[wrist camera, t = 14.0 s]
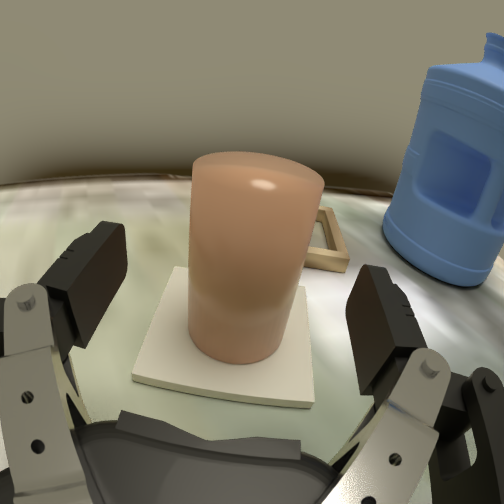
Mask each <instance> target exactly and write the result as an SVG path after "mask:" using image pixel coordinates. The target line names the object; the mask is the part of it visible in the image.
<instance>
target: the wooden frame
mask: <svg viewBox="0 0 504 504" xmlns="http://www.w3.org/2000/svg"><path fill="white" fill-rule="evenodd" d="M315 221H319V222H322V224H323V228H324V232H325V236H326V240H327V244H328V247H329V250H327V249H321V248H315V247H308V251H307V255H306V259H305V262H304V266H303V267H310V268H316V269H322V270H329V271H335V272H342V273H345V271H346V268H347V266H348V263H349V260H350V258H349V255H348V252H347V249H346V246H345V243H344V240H343V237H342V234H341V232H340V229H339V226H338V223H337V220H336V217H335V215H334V212H333V209H332V208H329V207H324V206H319V208H318V212H317V216H316V220H315Z"/></svg>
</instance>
